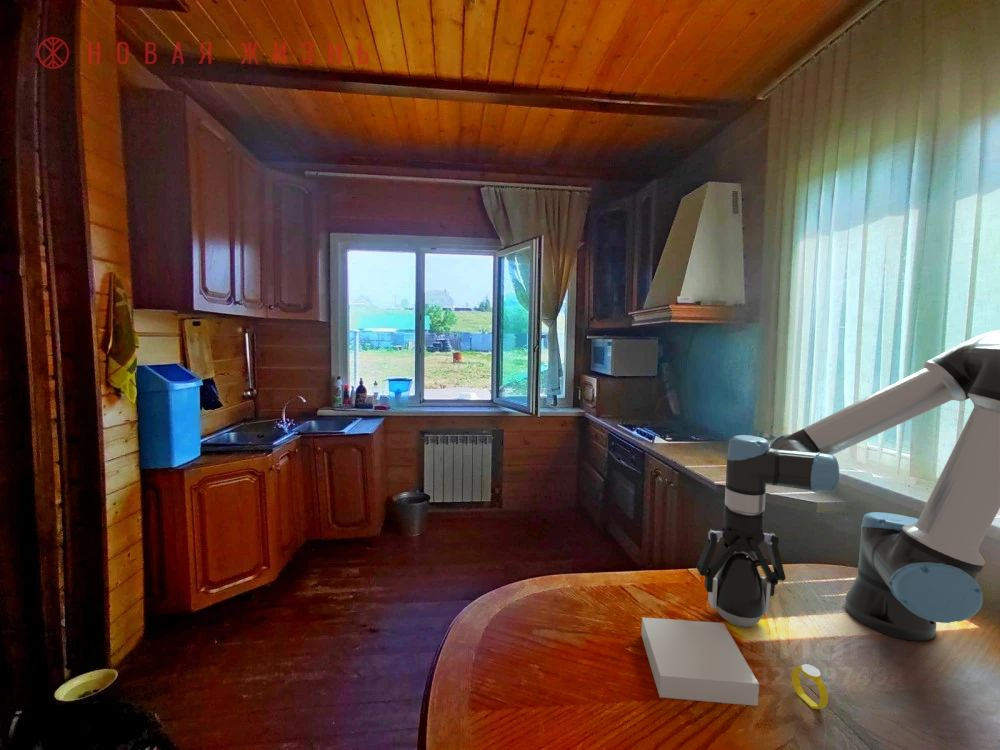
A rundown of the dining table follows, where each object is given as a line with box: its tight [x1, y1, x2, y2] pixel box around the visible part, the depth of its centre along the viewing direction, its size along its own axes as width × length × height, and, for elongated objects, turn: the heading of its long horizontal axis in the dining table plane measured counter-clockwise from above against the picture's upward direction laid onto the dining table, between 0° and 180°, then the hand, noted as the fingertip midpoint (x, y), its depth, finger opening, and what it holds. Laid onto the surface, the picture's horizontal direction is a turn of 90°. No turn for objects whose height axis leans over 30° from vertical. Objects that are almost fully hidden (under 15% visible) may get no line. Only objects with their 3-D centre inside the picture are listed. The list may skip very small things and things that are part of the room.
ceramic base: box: [640, 617, 760, 707], centre depth 86 cm, size 16×16×4 cm
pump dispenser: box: [715, 551, 769, 628], centre depth 99 cm, size 10×10×15 cm
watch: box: [790, 663, 829, 710], centre depth 78 cm, size 6×3×6 cm, turn 12°
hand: (737, 606), depth 100 cm, fingers closed on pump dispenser, 10 cm apart
